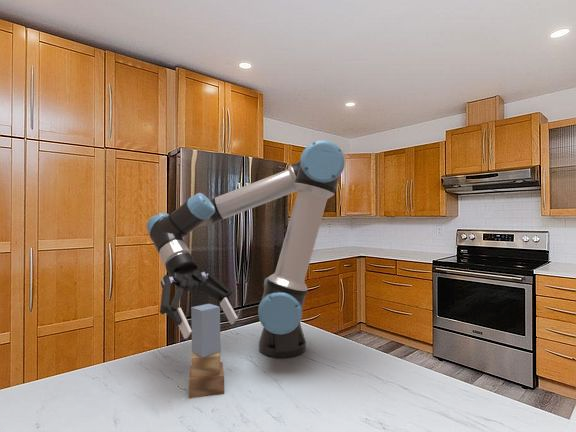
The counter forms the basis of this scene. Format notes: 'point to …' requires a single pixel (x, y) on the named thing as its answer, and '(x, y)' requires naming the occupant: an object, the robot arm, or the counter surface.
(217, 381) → the tower base
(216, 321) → the slate block
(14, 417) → the counter surface
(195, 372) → the tower top
